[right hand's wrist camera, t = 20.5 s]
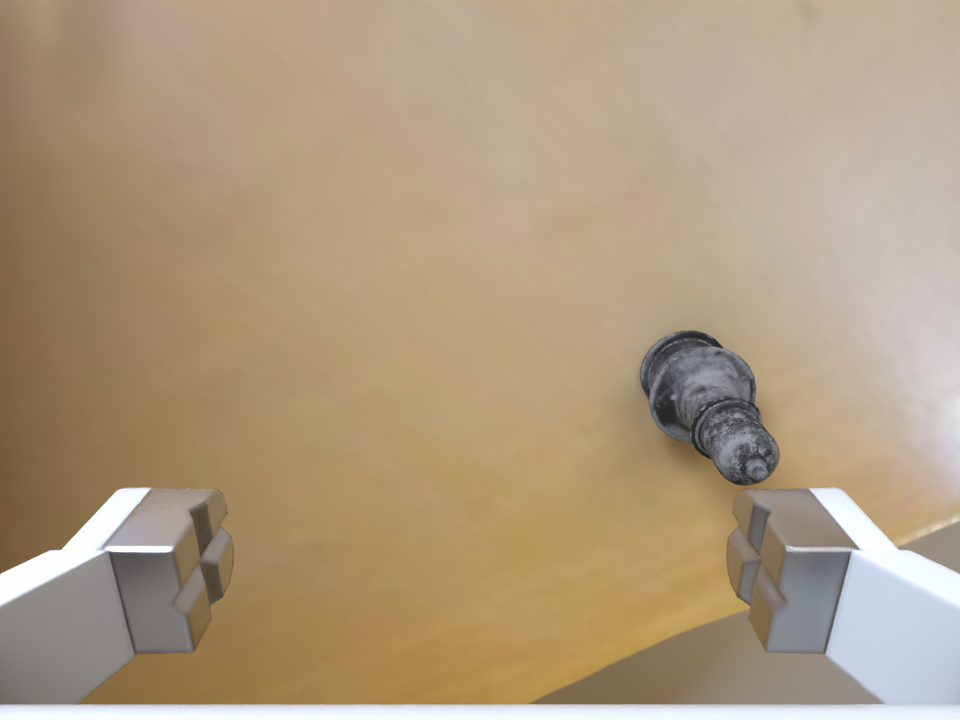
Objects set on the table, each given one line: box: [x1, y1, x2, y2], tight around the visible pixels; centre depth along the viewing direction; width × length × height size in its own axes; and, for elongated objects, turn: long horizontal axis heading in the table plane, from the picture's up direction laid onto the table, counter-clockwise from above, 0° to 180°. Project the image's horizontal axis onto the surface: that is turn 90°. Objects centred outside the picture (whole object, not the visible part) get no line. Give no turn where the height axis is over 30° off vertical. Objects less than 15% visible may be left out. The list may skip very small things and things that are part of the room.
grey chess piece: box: [640, 331, 780, 485], centre depth 34 cm, size 6×6×12 cm
